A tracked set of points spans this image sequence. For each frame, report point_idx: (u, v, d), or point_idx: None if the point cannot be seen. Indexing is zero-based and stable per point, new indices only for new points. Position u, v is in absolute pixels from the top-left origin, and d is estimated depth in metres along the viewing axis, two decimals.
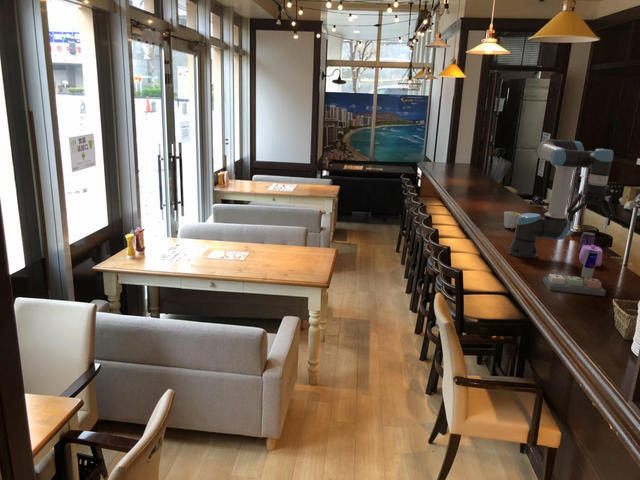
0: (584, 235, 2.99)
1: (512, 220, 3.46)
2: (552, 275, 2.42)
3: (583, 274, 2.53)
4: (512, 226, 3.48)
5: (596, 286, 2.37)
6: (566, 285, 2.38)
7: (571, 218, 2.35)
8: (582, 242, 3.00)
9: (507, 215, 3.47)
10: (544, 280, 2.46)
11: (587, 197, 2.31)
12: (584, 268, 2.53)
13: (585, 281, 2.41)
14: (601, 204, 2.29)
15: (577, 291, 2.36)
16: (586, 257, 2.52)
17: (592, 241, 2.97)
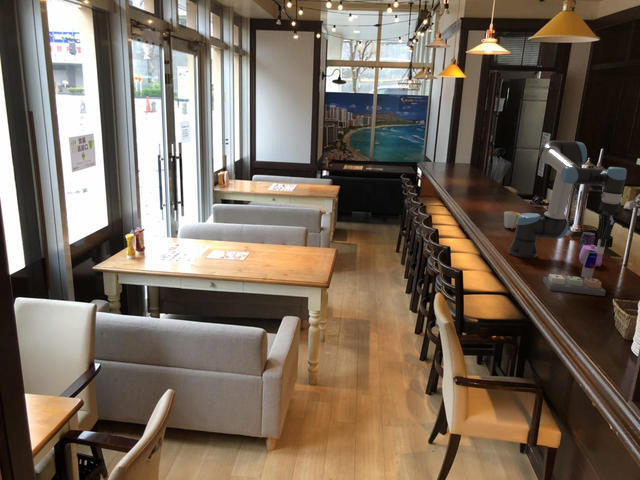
0: (584, 235, 2.99)
1: (512, 220, 3.46)
2: (552, 275, 2.42)
3: (583, 274, 2.53)
4: (512, 226, 3.48)
5: (596, 286, 2.37)
6: (566, 285, 2.38)
7: None
8: (582, 242, 3.00)
9: (507, 215, 3.47)
10: (544, 280, 2.46)
11: None
12: (584, 268, 2.53)
13: (585, 281, 2.41)
14: (603, 222, 2.30)
15: (577, 291, 2.36)
16: (586, 257, 2.52)
17: (592, 241, 2.97)
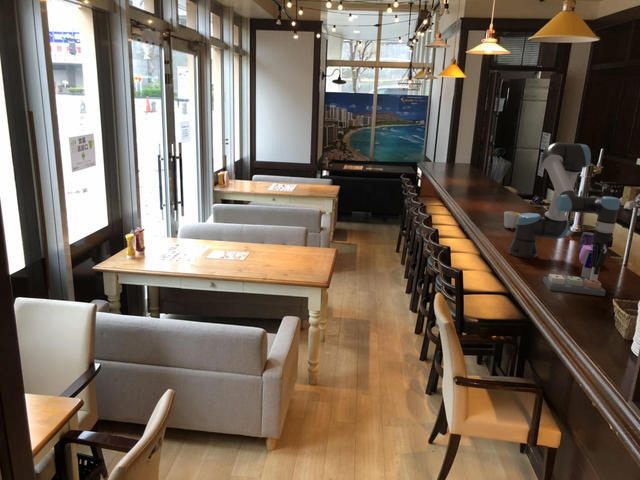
0: (584, 235, 2.99)
1: (512, 220, 3.46)
2: (552, 275, 2.42)
3: (583, 274, 2.53)
4: (512, 226, 3.48)
5: (596, 287, 2.37)
6: (566, 285, 2.38)
7: None
8: (582, 242, 3.00)
9: (507, 215, 3.47)
10: (544, 280, 2.46)
11: (596, 242, 2.37)
12: (584, 268, 2.53)
13: (585, 281, 2.41)
14: (596, 250, 2.34)
15: (577, 291, 2.36)
16: (586, 257, 2.52)
17: (592, 241, 2.97)
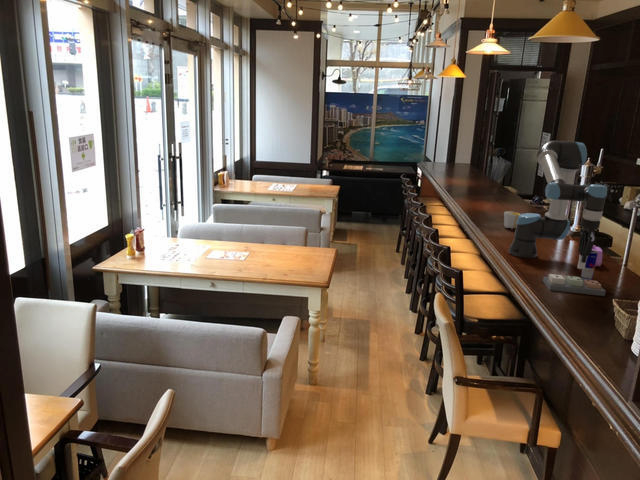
0: None
1: (512, 220, 3.46)
2: (552, 275, 2.42)
3: (583, 274, 2.53)
4: (512, 226, 3.48)
5: None
6: (566, 285, 2.38)
7: None
8: None
9: (507, 215, 3.47)
10: (544, 280, 2.46)
11: None
12: None
13: (584, 283, 2.41)
14: (584, 238, 2.34)
15: (577, 291, 2.36)
16: None
17: None
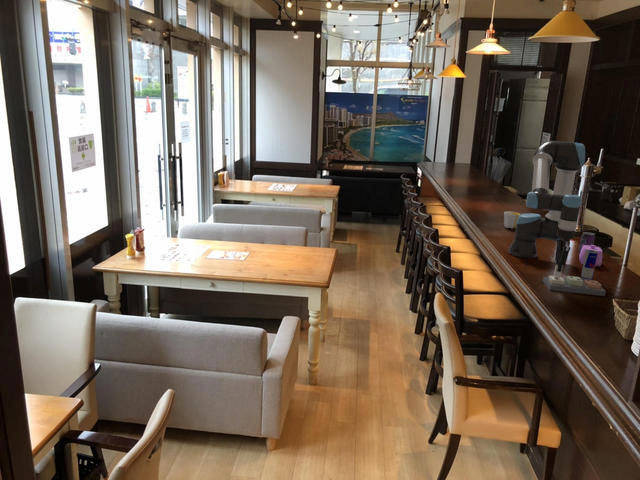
0: (584, 235, 2.99)
1: (512, 220, 3.46)
2: (552, 277, 2.42)
3: (583, 274, 2.53)
4: (512, 226, 3.48)
5: None
6: (566, 285, 2.38)
7: None
8: (582, 242, 3.00)
9: (507, 215, 3.47)
10: (544, 280, 2.46)
11: (559, 239, 2.39)
12: (584, 268, 2.53)
13: (584, 283, 2.41)
14: (559, 248, 2.36)
15: (577, 291, 2.36)
16: (586, 257, 2.52)
17: (592, 241, 2.97)
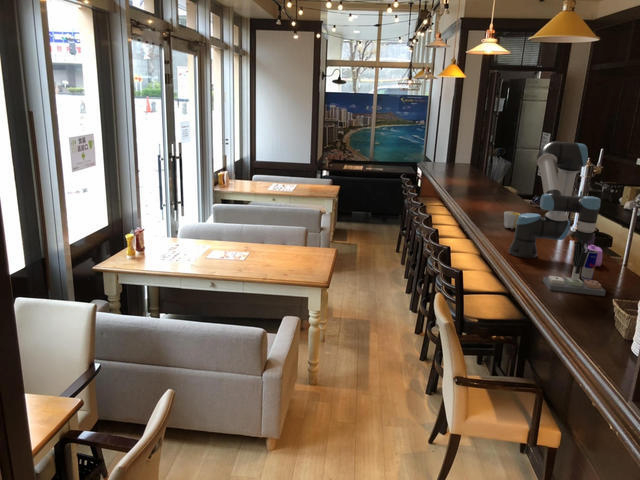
0: None
1: (512, 220, 3.46)
2: (552, 277, 2.42)
3: (583, 274, 2.53)
4: (512, 226, 3.48)
5: None
6: (566, 285, 2.38)
7: None
8: None
9: (507, 215, 3.47)
10: (544, 280, 2.46)
11: (577, 241, 2.38)
12: (584, 268, 2.53)
13: (584, 283, 2.41)
14: (578, 250, 2.35)
15: (577, 291, 2.36)
16: (586, 257, 2.52)
17: (592, 241, 2.97)
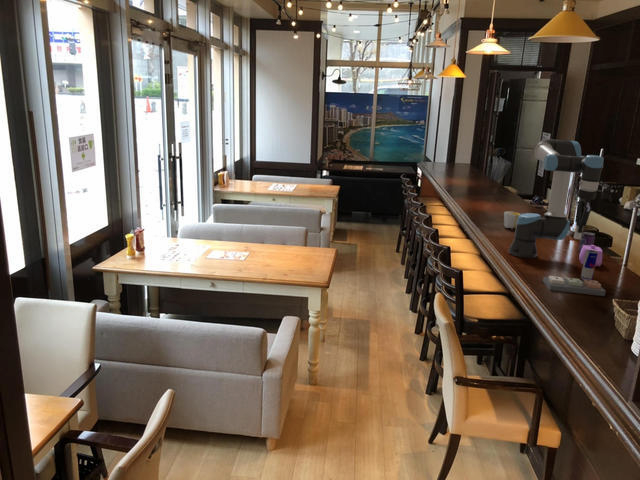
0: (584, 235, 2.99)
1: (512, 220, 3.46)
2: (552, 277, 2.42)
3: (583, 274, 2.53)
4: (512, 226, 3.48)
5: None
6: (566, 285, 2.38)
7: None
8: (582, 242, 3.00)
9: (507, 215, 3.47)
10: (544, 280, 2.46)
11: (580, 201, 2.40)
12: (584, 268, 2.53)
13: (584, 283, 2.41)
14: (580, 209, 2.37)
15: (577, 291, 2.36)
16: (586, 257, 2.52)
17: (592, 241, 2.97)
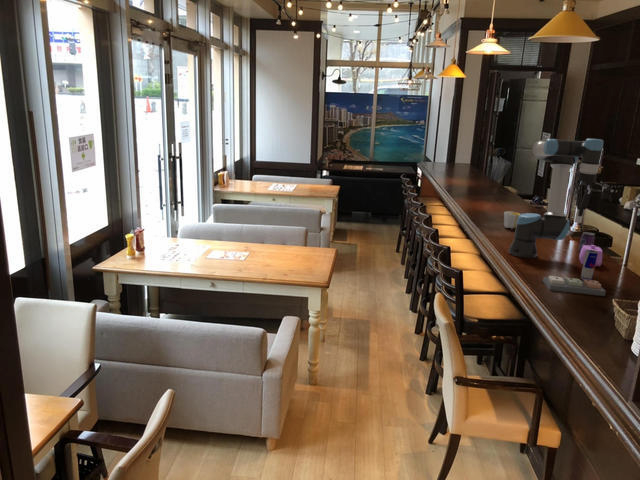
0: (584, 235, 2.99)
1: (512, 220, 3.46)
2: (552, 277, 2.42)
3: (583, 274, 2.53)
4: (512, 226, 3.48)
5: None
6: (566, 285, 2.38)
7: None
8: (582, 242, 3.00)
9: (507, 215, 3.47)
10: (544, 280, 2.46)
11: (580, 184, 2.42)
12: (584, 268, 2.53)
13: (584, 283, 2.41)
14: (581, 192, 2.39)
15: (577, 291, 2.36)
16: (586, 257, 2.52)
17: (592, 241, 2.97)
